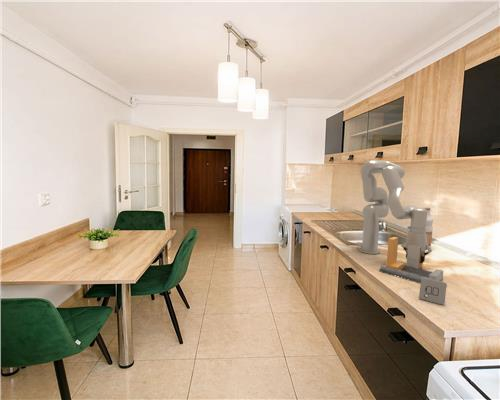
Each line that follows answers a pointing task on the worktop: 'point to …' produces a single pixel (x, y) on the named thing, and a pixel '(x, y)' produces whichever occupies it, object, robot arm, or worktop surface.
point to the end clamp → (393, 254)
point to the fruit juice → (429, 227)
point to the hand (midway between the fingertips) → (414, 260)
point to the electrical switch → (433, 290)
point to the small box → (414, 256)
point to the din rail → (414, 273)
